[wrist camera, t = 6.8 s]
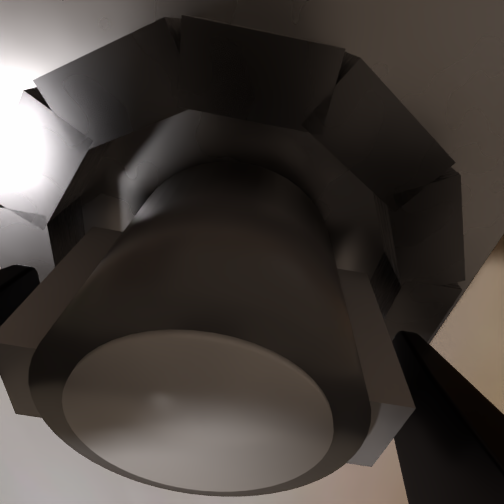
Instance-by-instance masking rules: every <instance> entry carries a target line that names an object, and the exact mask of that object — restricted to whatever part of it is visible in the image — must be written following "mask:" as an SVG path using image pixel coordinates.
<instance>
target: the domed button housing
mask: <svg viewBox="0 0 504 504" xmlns="http://www.w3.org/2000/svg"><path fill="white" fill-rule="evenodd" d="M0 375H1V378H2V380H3V383H4V386H5V388H6V391H7V393H8V396H9V398H10V401H11V403H12V406H13V408H14V411H15V413H16V414H20V415H27V416H34V417H40V418H43V420H44V421H45V423H46V424H47V425H48V426H49V427H50V428H51V430H52V431H53V432H54V433H55V434H56V435H57V436H58V437H59V438H61V439H62V440H63V441H64V442H65V443H66V444H67V445H69V446H70V447H71V448H73V449H74V450H75V451H77V452H78V453H79V454H81V455H83V456H84V457H86V458H87V459H89V460H91V461H92V462H94V463H96V464H98V465H100V466H102V467H104V468H106V469H108V470H110V471H112V472H115V473H117V474H119V475H121V476H124V477H127V478H129V479H132V480H135V481H138V482H141V483H144V484H148V485H151V486H155V487H159V488H163V489H167V490H172V491H177V492H183V493H189V494H198V495H206V496H255V495H263V494H271V493H277V492H282V491H287V490H291V489H294V488H298V487H301V486H304V485H307V484H310V483H312V482H315V481H317V480H320V479H322V478H323V477H325V476H327V475H329V474H331V473H333V472H334V471H336V470H337V469H339V468H340V467H342V466H343V465H344V464H345V463H349V464H356V465H363V466H370V467H372V466H373V464H374V463H375V462H376V460H377V459H378V458H379V456H380V455H381V454H382V452H383V451H384V450H385V449H386V447H387V446H388V445H389V443H390V442H391V441H392V439H393V438H394V437H395V435H396V434H397V433H398V431H399V430H400V429H401V427H402V426H403V425H404V423H405V422H406V421H407V419H408V418H409V417H410V415H411V414H412V413H413V411H414V410H415V409H416V407H415V405H414V402H413V399H412V396H411V393H410V391H409V388H408V385H407V382H406V380H405V377H404V374H403V371H402V369H401V366H400V363H399V360H398V358H397V355H396V352H395V349H394V347H393V344H392V341H391V338H390V336H389V333H388V330H387V327H386V325H385V322H384V319H383V316H382V314H381V311H380V308H379V305H378V303H377V300H376V297H375V294H374V292H373V289H372V286H371V283H370V281H369V278H368V275H367V273H361V272H355V271H349V270H343V269H337V266H336V262H335V258H334V254H333V250H332V246H331V242H330V238H329V234H328V230H327V227H326V224H325V222H324V219H323V217H322V215H321V213H320V212H319V210H318V208H317V207H316V205H315V204H314V203H313V202H312V200H311V199H310V198H309V197H308V196H307V195H306V194H305V193H304V192H303V191H302V190H301V189H300V188H299V187H298V186H296V185H295V184H294V183H292V182H291V181H290V180H288V179H286V178H285V177H283V176H281V175H279V174H277V173H276V172H273V171H270V170H268V169H265V168H263V167H259V166H255V165H251V164H247V163H239V162H213V163H206V164H201V165H197V166H194V167H190V168H188V169H185V170H183V171H181V172H179V173H177V174H175V175H173V176H172V177H170V178H169V179H167V180H166V181H164V182H163V183H162V184H161V185H160V186H159V187H158V188H156V190H155V191H154V192H153V193H152V194H151V195H150V197H149V198H148V199H147V201H146V202H145V203H144V205H143V206H142V207H141V209H140V210H139V211H138V213H137V214H136V215H135V217H134V218H133V219H132V221H131V222H130V223H129V225H128V226H127V227H126V229H125V230H124V231H123V232H122V231H116V230H110V229H104V228H98V227H92V228H91V229H90V230H89V231H88V232H87V233H86V234H85V235H84V236H83V238H82V239H81V240H80V241H79V242H78V243H77V244H76V245H75V246H74V247H73V248H72V250H71V251H70V252H69V253H68V254H67V255H66V256H65V257H64V258H63V259H62V260H61V261H60V263H59V264H58V265H57V266H56V267H55V268H54V269H53V270H52V271H51V272H50V273H49V274H48V276H47V277H46V278H45V279H44V280H43V281H42V282H41V283H40V284H39V285H38V286H37V287H36V289H35V290H34V291H33V292H32V293H31V294H30V295H29V296H28V297H27V298H26V299H25V300H24V302H23V303H22V304H21V305H20V306H19V307H18V308H17V309H16V310H15V311H14V312H13V313H12V315H11V316H10V317H9V318H8V319H7V320H6V321H5V322H4V323H3V324H2V325H1V327H0Z"/></svg>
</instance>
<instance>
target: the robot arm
mask: <svg viewBox="0 0 504 504" xmlns="http://www.w3.org/2000/svg"><path fill="white" fill-rule="evenodd" d="M39 284H40V281H39V276H38V272H37V270H36V269H35V268H34V267H32V266H26V265H20V264H14V265H11V266H8V267H6V268H3V269H0V327H1V325H2V324H3V323H4V322H5V321H6V320H7V319H8V318H9V317H10V316H11V315H12V313H13V312H14V311H15V310H16V309H17V308H18V307H19V306H20V305H21V304H22V303H23V302H24V300H25V299H26V298H27V297H28V296H29V295H30V294H31V293H32V292H33V291H34V290H35V289H36V287H37V286H38V285H39ZM392 344H393V347H394V349H395V352H396V355H397V358H398V360H399V363H400V366H401V369H402V371H403V374H404V377H405V380H406V382H407V385H408V388H409V391H410V393H411V396H412V399H413V402H414V405H415V407H416V409H415V410H414V411H413V413H412V414H411V415H410V417H409V418H408V419H407V421H406V422H405V423H404V425H403V426H402V427H401V429H400V430H399V431H398V433H397V434H396V435H395V437H394V440H395V445H396V449H397V454H398V458H399V463H400V467H401V472H402V476H403V481H404V485H405V489H406V494H407V498H408V503H409V504H504V414H503V413H502V412H500V411H499V410H498V409H497V408H496V407H495V406H494V405H493V404H492V403H491V402H490V401H489V400H488V399H487V398H486V397H485V396H484V395H482V394H481V393H480V392H479V391H478V390H477V389H476V388H475V387H474V386H473V385H472V384H471V383H470V382H469V381H468V380H467V379H466V378H464V377H463V376H462V375H461V374H460V373H459V372H458V371H457V370H456V369H455V368H454V367H453V366H452V365H451V364H450V363H449V362H447V361H446V360H445V359H444V358H443V357H442V356H441V355H440V354H439V353H438V352H437V351H436V350H435V349H434V348H433V347H432V346H431V345H429V344H428V343H427V342H426V341H425V340H424V339H423V338H422V337H421V336H420V335H419V334H417V333H414V332H408V331H399V332H397V333H396V335H395V337H394V338H393V340H392Z"/></svg>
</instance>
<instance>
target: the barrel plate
mask: <svg viewBox="0 0 504 504" xmlns="http://www.w3.org/2000/svg"><path fill="white" fill-rule="evenodd" d="M213 162H239V163H247V164H251V165H255V166H259V167H263V168H265V169H268V170H270V171H273V172H276V173H277V174H279V175H281V176H283V177H285V178H286V179H288V180H290V181H291V182H292V183H294V184H295V185H296V186H298V187H299V188H300V189H301V190H302V191H303V192H304V193H305V194H306V195H307V196H308V197H309V198H310V199H311V200H312V202H313V203H314V204H315V205H316V207H317V208H318V210H319V212H320V213H321V215H322V217H323V219H324V222H325V224H326V227H327V230H328V234H329V238H330V242H331V246H332V250H333V254H334V258H335V262H336V266H337V269H343V270H349V271H355V272H361V273H367V275H368V278H369V281H370V283H371V286H372V289H373V292H374V294H375V297H376V300H377V303H378V305H379V308H380V311H381V314H382V316H383V319H384V322H385V325H386V327H387V330H388V333H389V336H390V338H391V341H392V340H393V338H394V337H395V335H396V333H397V332H399V331H408V332H414V333H417V334H419V335H420V336H421V337H422V338H423V339H424V340H425V341H426V342H427V343H428V344H429V343H430V342H431V340H432V339H433V337H434V336H435V334H436V333H437V331H438V330H439V329H440V327H441V326H442V324H443V323H444V321H445V320H446V318H447V317H448V315H449V314H450V312H451V311H452V309H453V308H454V306H455V305H456V304H457V302H458V301H459V299H460V298H461V296H462V295H463V293H464V292H465V290H466V289H467V287H468V286H469V284H470V283H471V281H472V280H473V278H474V277H475V276H476V274H477V273H478V271H479V270H480V268H481V267H482V265H483V264H484V262H485V261H486V259H487V258H488V256H489V255H490V253H491V252H492V251H493V249H494V248H495V246H496V245H497V243H498V242H499V240H500V239H501V237H502V236H503V234H504V0H0V267H1V269H3V268H6V267H8V266H11V265H14V264H20V265H26V266H32V267H34V268H35V269H36V270H37V272H38V276H39V281H40V283H41V282H42V281H43V280H44V279H45V278H46V277H47V276H48V274H49V273H50V272H51V271H52V270H53V269H54V268H55V267H56V266H57V265H58V264H59V263H60V261H61V260H62V259H63V258H64V257H65V256H66V255H67V254H68V253H69V252H70V251H71V250H72V248H73V247H74V246H75V245H76V244H77V243H78V242H79V241H80V240H81V239H82V238H83V236H84V235H85V234H86V233H87V232H88V231H89V230H90V229H91V228H92V227H98V228H104V229H110V230H116V231H122V232H123V231H124V230H125V229H126V227H127V226H128V225H129V223H130V222H131V221H132V219H133V218H134V217H135V215H136V214H137V213H138V211H139V210H140V209H141V207H142V206H143V205H144V203H145V202H146V201H147V199H148V198H149V197H150V195H151V194H152V193H153V192H154V191H155V190H156V188H158V187H159V186H160V185H161V184H162V183H163V182H164V181H166V180H167V179H169V178H170V177H172V176H173V175H175V174H177V173H179V172H181V171H183V170H185V169H188V168H190V167H194V166H197V165H201V164H206V163H213Z"/></svg>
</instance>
